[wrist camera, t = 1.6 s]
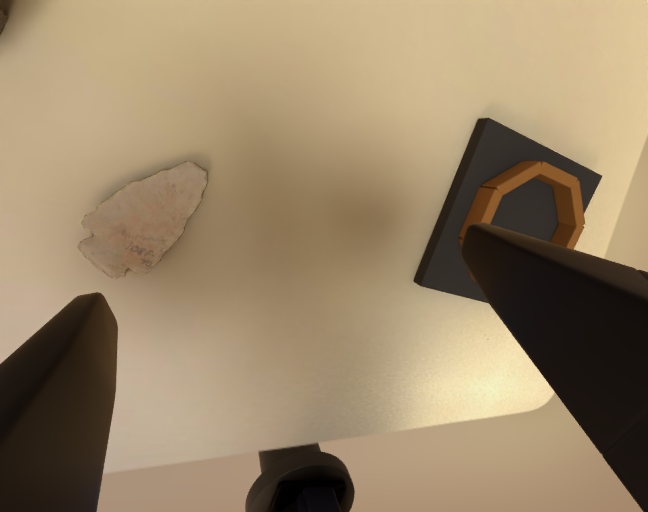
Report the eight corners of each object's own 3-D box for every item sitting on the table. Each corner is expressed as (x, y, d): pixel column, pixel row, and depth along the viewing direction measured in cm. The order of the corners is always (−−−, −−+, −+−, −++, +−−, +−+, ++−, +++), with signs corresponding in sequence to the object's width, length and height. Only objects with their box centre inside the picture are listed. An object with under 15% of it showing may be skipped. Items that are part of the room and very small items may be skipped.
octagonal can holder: (525, 309, 30) (550, 323, 27) (413, 281, 25) (432, 294, 23) (590, 174, 27) (623, 177, 25) (478, 118, 23) (506, 115, 21)
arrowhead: (132, 289, 20) (112, 294, 18) (83, 242, 19) (57, 242, 17) (229, 193, 20) (220, 188, 18) (181, 145, 19) (166, 134, 17)
